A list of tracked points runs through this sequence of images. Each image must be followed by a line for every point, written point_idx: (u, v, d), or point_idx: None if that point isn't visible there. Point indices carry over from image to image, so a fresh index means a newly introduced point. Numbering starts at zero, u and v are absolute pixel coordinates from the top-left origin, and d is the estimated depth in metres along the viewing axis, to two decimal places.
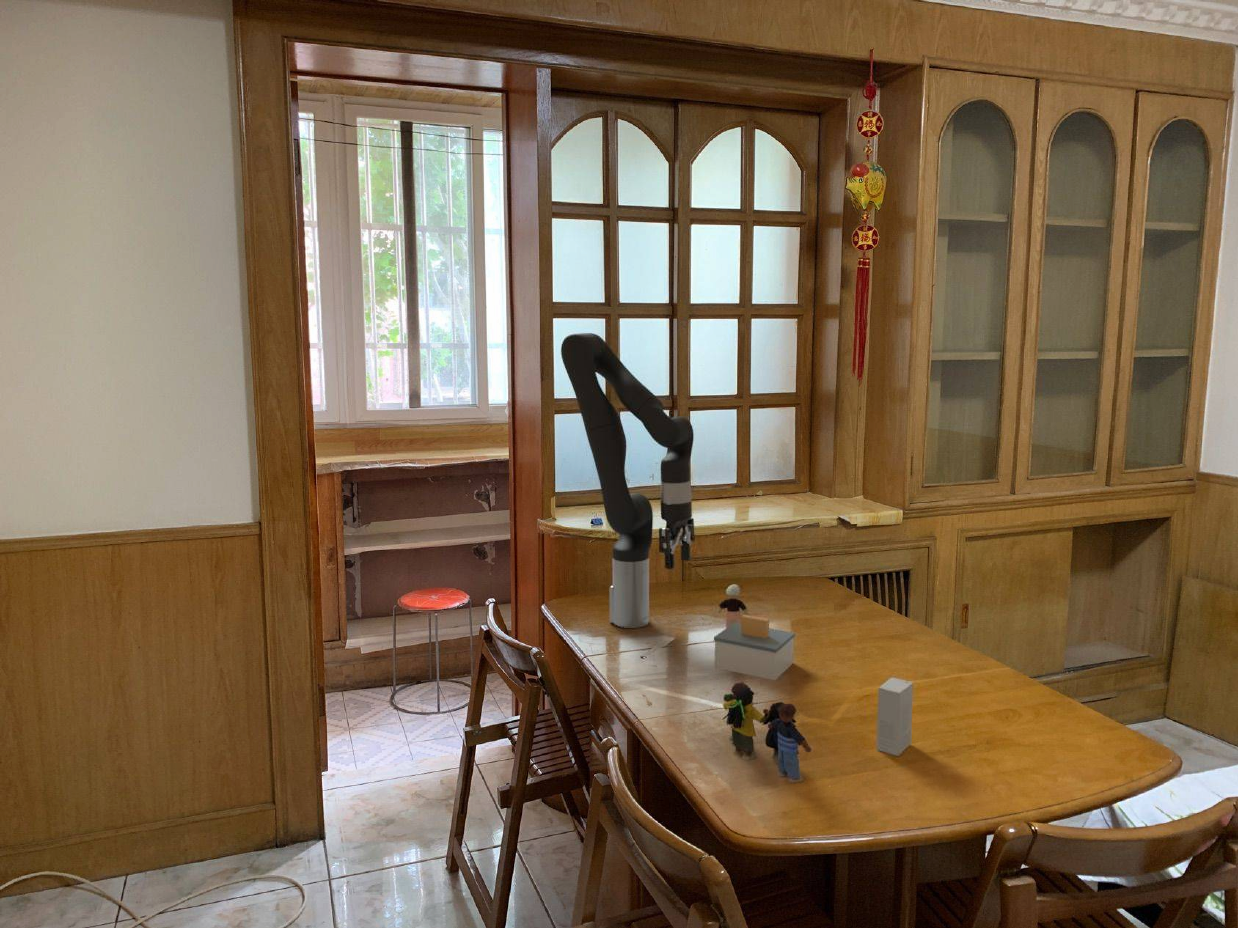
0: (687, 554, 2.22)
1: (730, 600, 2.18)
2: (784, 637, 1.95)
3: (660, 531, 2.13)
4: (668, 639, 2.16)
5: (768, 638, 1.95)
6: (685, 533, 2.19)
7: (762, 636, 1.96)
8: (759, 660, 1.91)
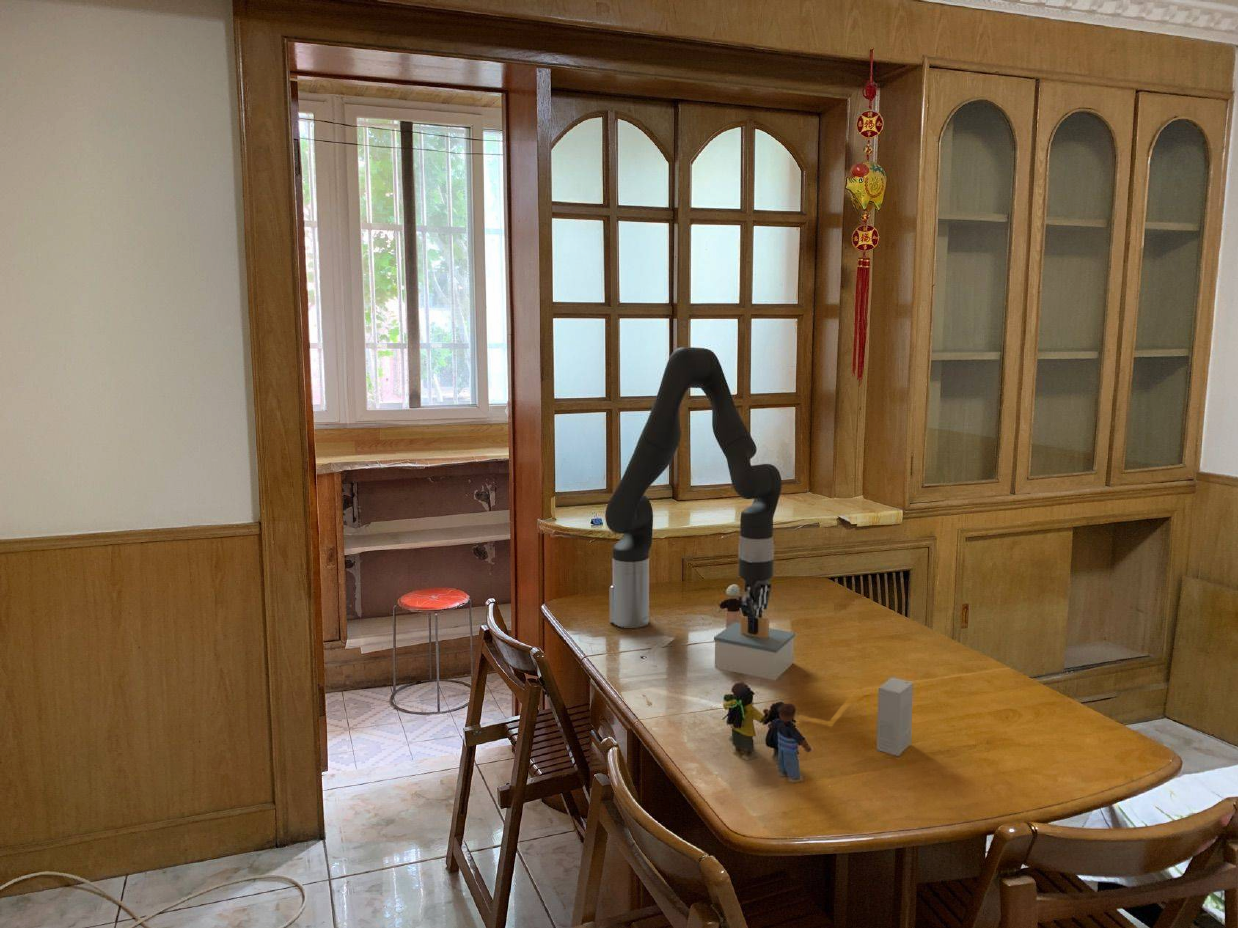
0: None
1: (730, 600, 2.18)
2: (784, 637, 1.95)
3: (740, 601, 1.91)
4: (668, 639, 2.16)
5: (768, 638, 1.95)
6: (763, 594, 1.96)
7: (762, 636, 1.96)
8: (759, 660, 1.91)
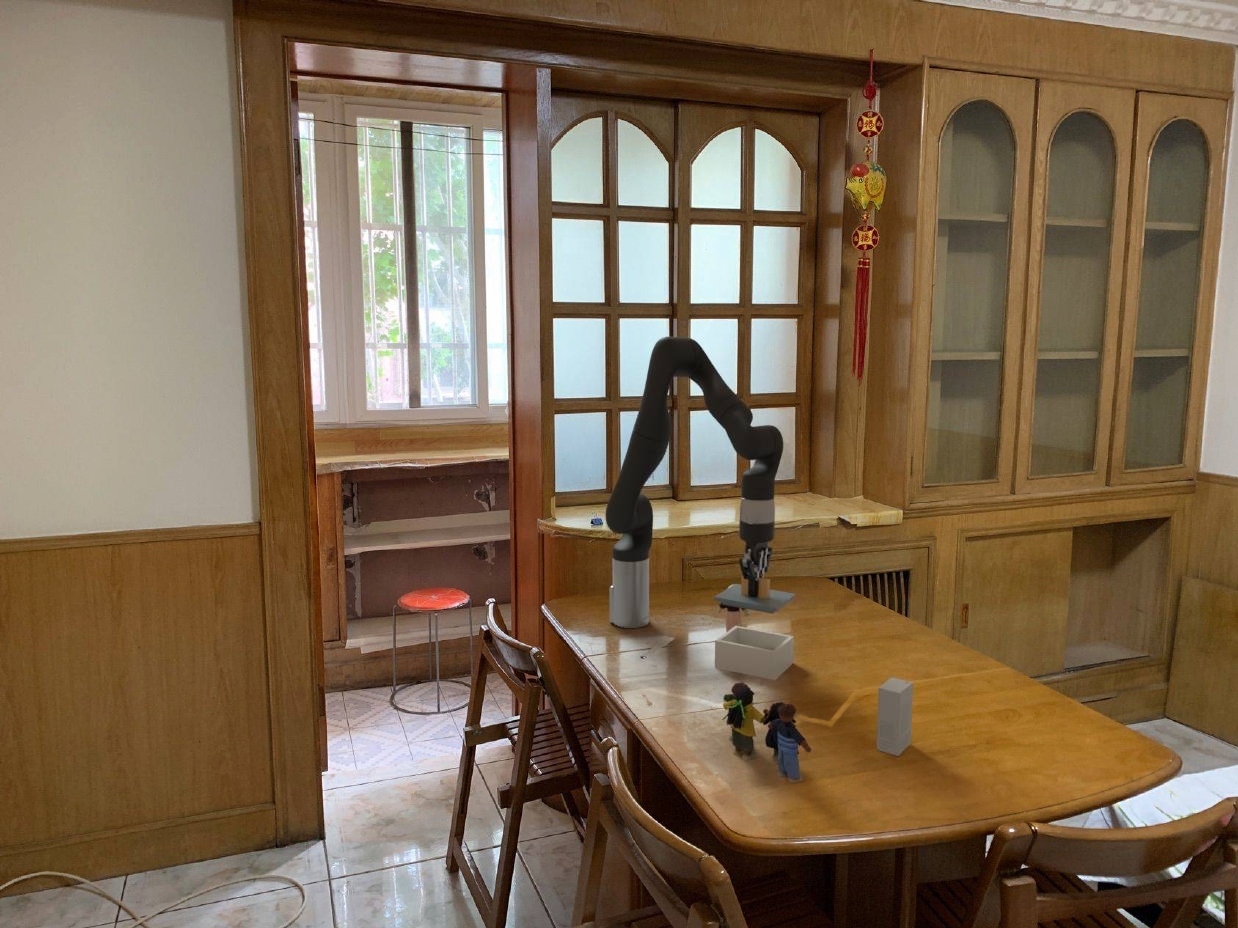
0: None
1: None
2: (785, 598, 1.94)
3: (741, 563, 1.90)
4: (668, 639, 2.16)
5: (769, 598, 1.94)
6: (763, 556, 1.94)
7: (763, 596, 1.94)
8: (759, 660, 1.91)
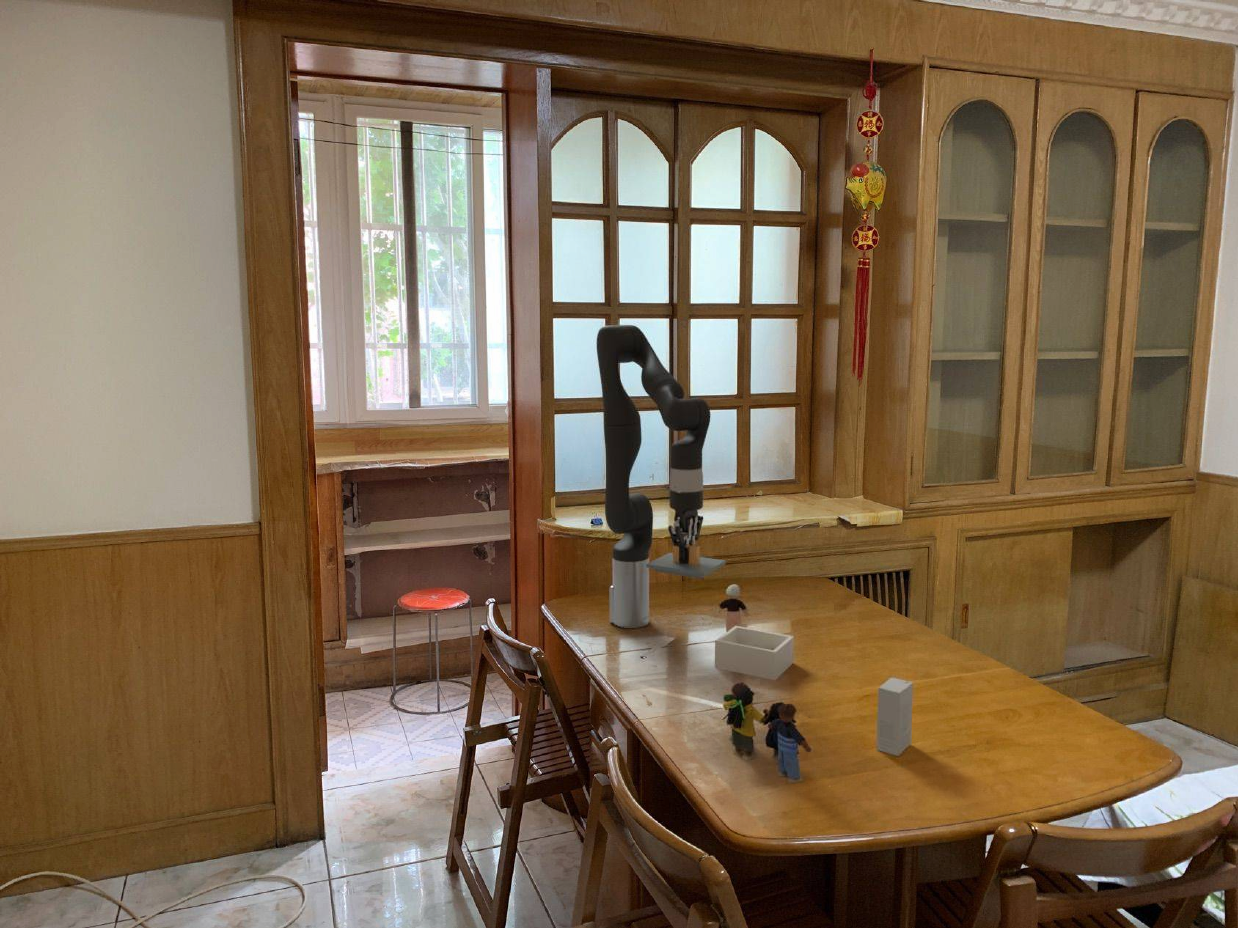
0: None
1: (730, 600, 2.18)
2: (714, 564, 2.02)
3: (670, 530, 1.98)
4: (668, 639, 2.16)
5: (698, 564, 2.02)
6: (693, 524, 2.02)
7: (693, 563, 2.02)
8: (759, 660, 1.91)
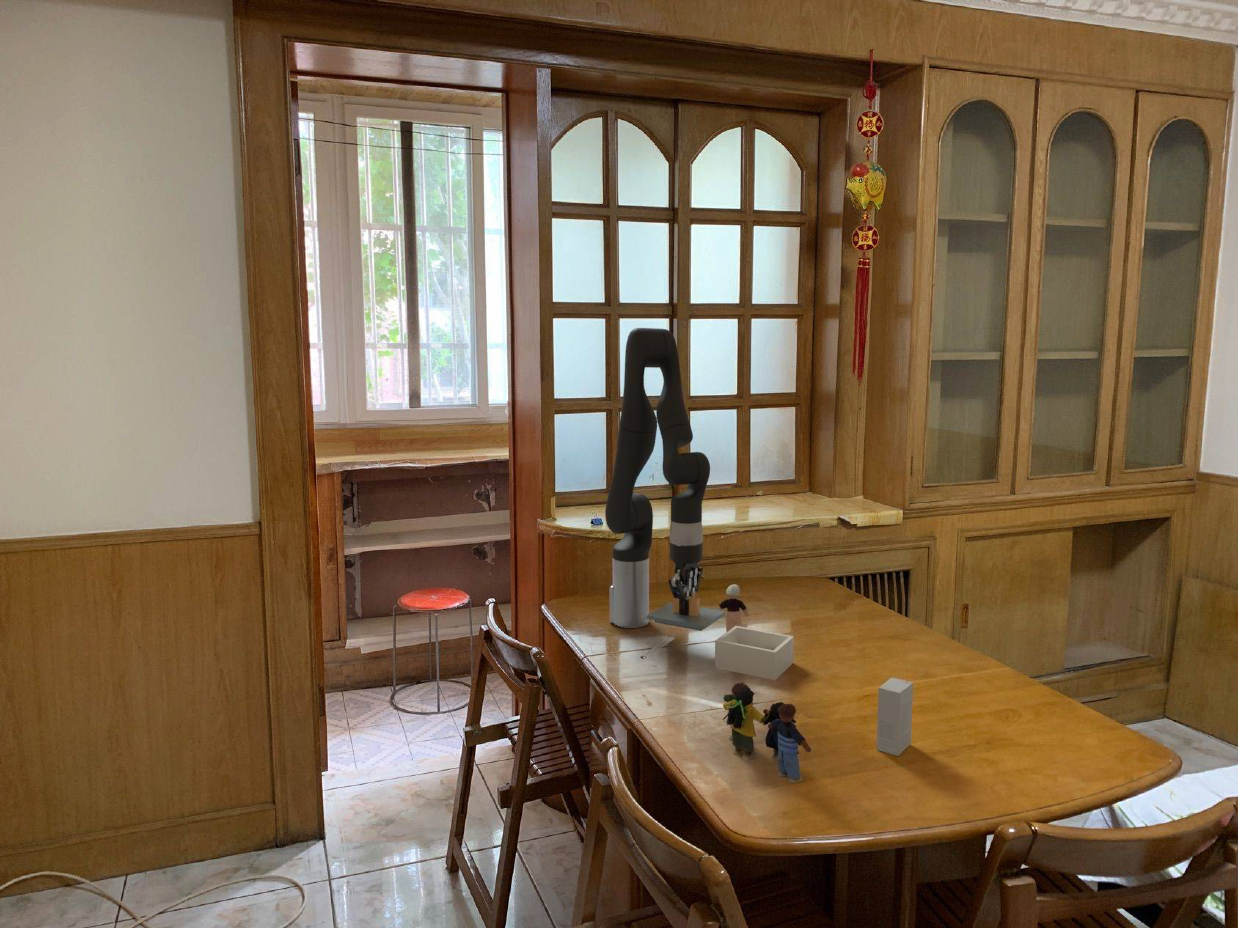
0: None
1: (730, 600, 2.18)
2: (714, 615, 2.04)
3: (670, 583, 1.99)
4: (668, 639, 2.16)
5: (698, 616, 2.04)
6: (693, 576, 2.04)
7: (693, 614, 2.04)
8: (759, 660, 1.91)
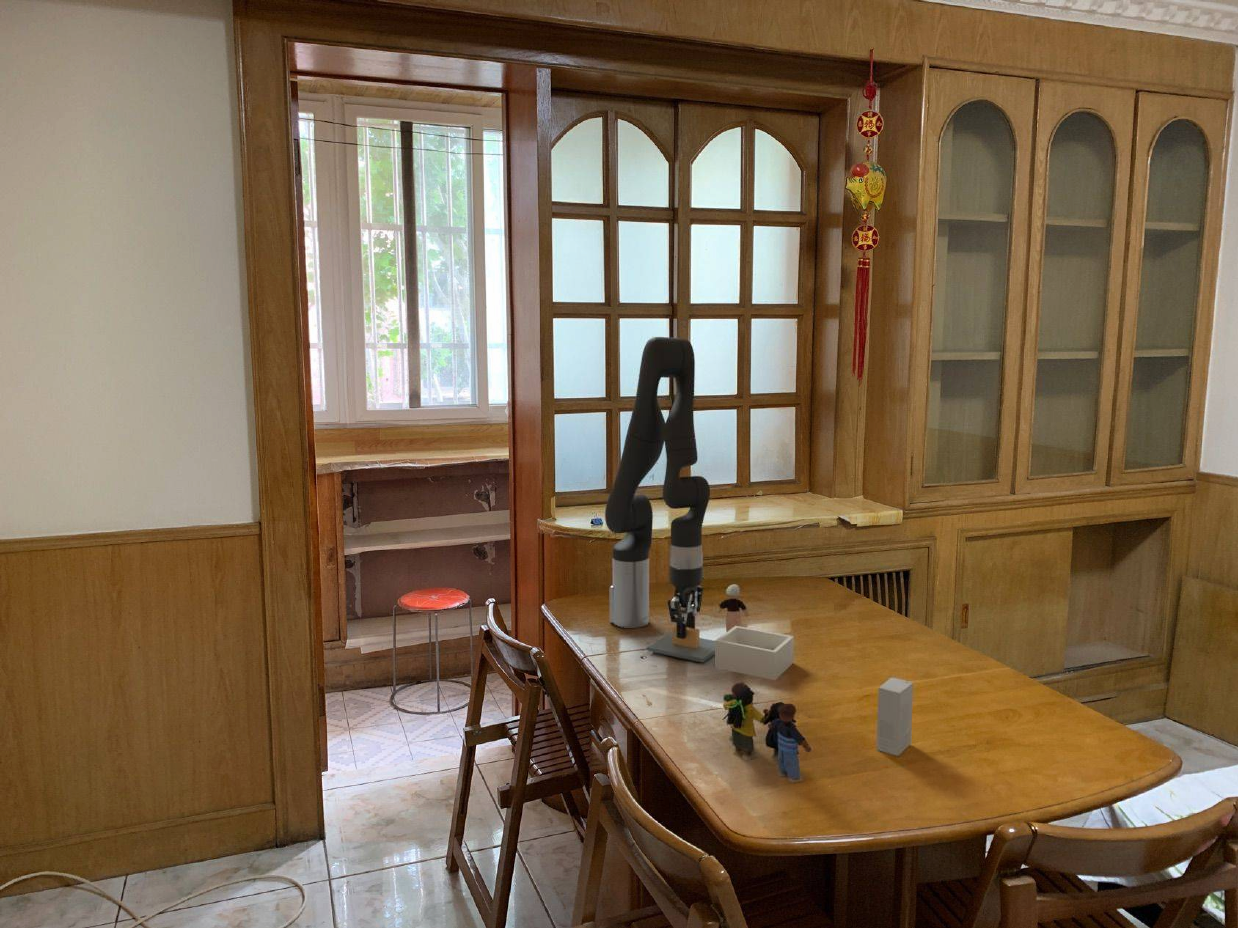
0: (692, 626, 2.08)
1: (730, 600, 2.18)
2: (714, 647, 2.05)
3: (669, 604, 2.00)
4: None
5: (698, 648, 2.05)
6: (693, 599, 2.05)
7: (692, 646, 2.05)
8: (759, 660, 1.91)
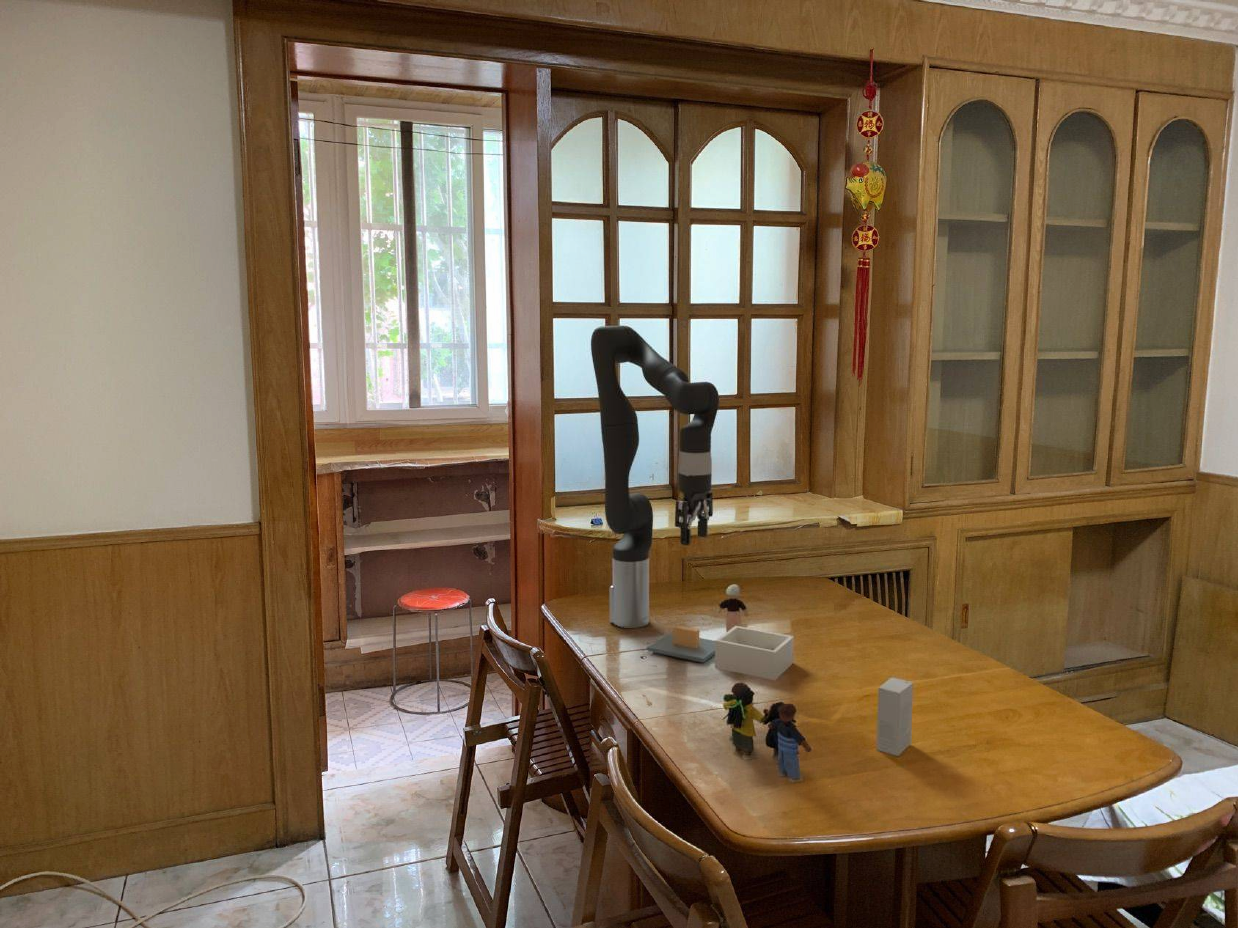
0: (704, 530, 2.07)
1: (730, 600, 2.18)
2: (714, 647, 2.05)
3: (677, 504, 1.98)
4: None
5: (698, 648, 2.05)
6: (703, 507, 2.04)
7: (692, 646, 2.05)
8: (759, 660, 1.91)
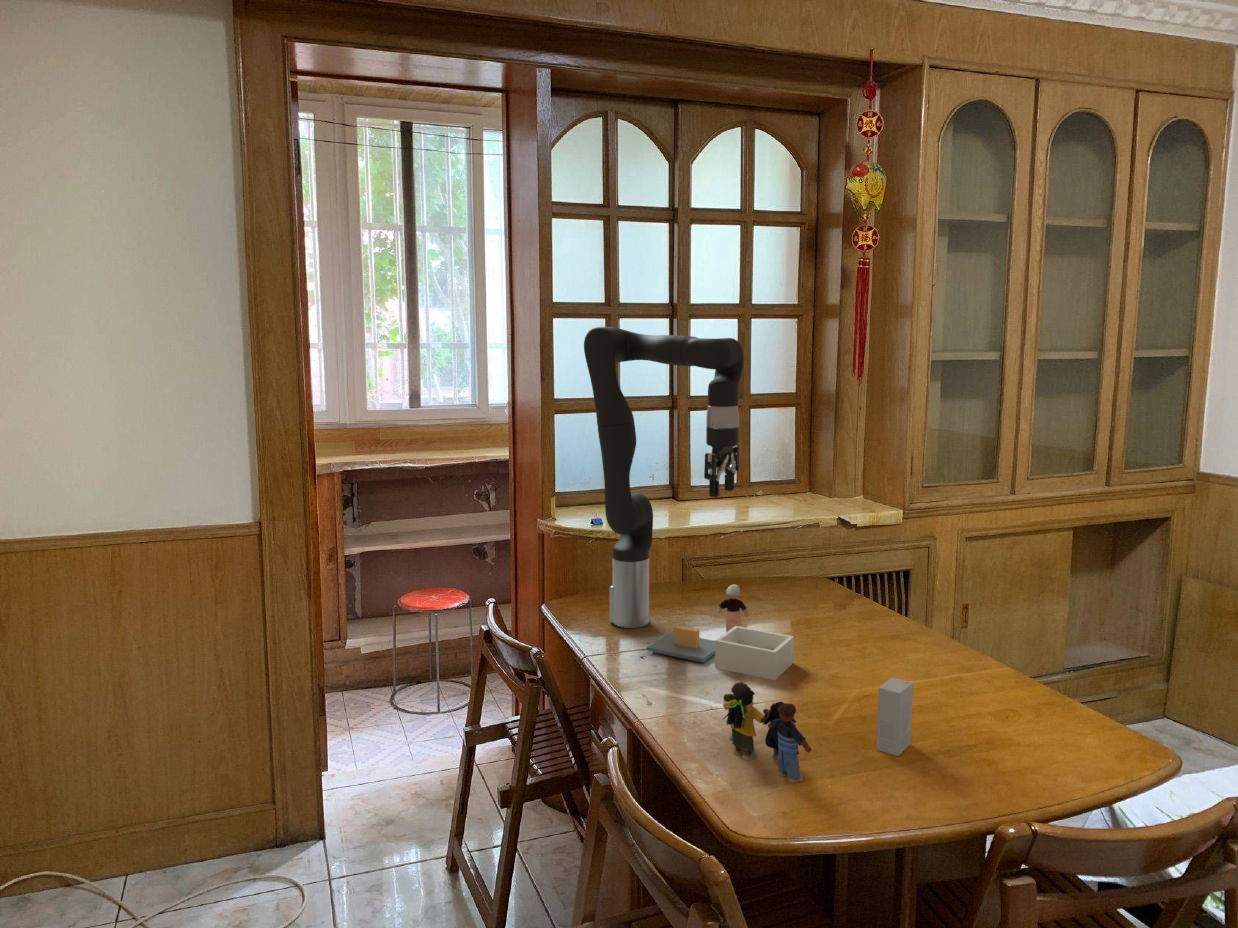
0: (731, 484, 2.13)
1: (730, 600, 2.18)
2: (714, 647, 2.05)
3: (706, 456, 2.04)
4: None
5: (698, 648, 2.05)
6: (730, 461, 2.10)
7: (692, 646, 2.05)
8: (759, 660, 1.91)
